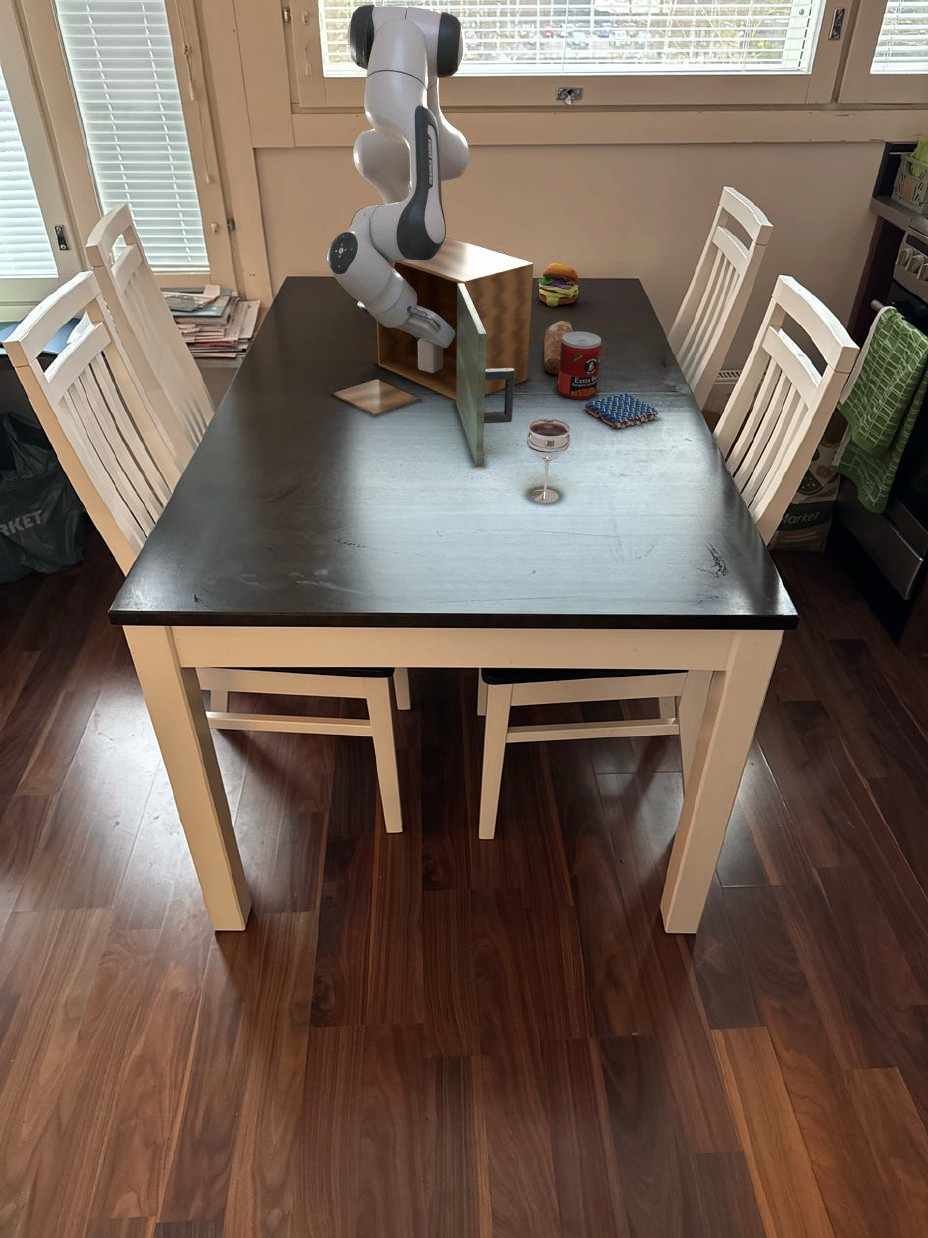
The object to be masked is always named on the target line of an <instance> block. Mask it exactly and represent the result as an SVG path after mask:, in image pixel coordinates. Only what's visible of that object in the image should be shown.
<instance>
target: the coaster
mask: <svg viewBox="0 0 928 1238" xmlns="http://www.w3.org/2000/svg"><path fill="white" fill-rule="evenodd" d="M333 396H334V397H336V398H338V399H340V400H342V401H343V402H346V403H348V404H350V405H352V406H354V407H356V408H358V409H360V410H362V411H364V412H366V413H368V414H369V415H372V416H374V417H375V416H378V415H381V414H383V413H387V412H390V411H393V410H395V409H398V408H402V407H404V406H407V405H410V404H412V403H415V402H418V401H420V399H419V398H420V397H417V396H414V395H412V394H410V393H408V392H405V391H404V390H401V389H399V388H397V387H395V386H393V385H391V384H388V383H387V382H384V381H382V380H380V379H378V378H376V379H373V380H370V381H366V382H364V383H360V384H357V385H354V386H350V387H348V388H345V389H342V390H339V391H336V392H333Z"/></svg>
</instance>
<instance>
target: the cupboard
mask: <svg viewBox="0 0 928 1238" xmlns="http://www.w3.org/2000/svg"><path fill="white" fill-rule="evenodd" d="M394 268H395V270H396V272H398V273H399V274H400V275H401V276H402V277H403V278H404V279H405V280H406V281H407V283H408V284H409V285H410V286H411V287H412V288H413V289H414V290H415V291H416V294H417V306H420V307H423V308H425V309H428V310H430V311H432V312H434V313H436V314H437V315H438V316H440V317H441V318H442V319H443V320H444V321H445V322H446V323H448V324H449V325H450V326H451V327H452V328H453V329H454V330H455V332H456V335H455V337H454V339H453V341H452V343H451V344H450V345H449V347H448V348H444V349H443V367H442V368H441V369H440V370H438V371H436V372H434V373H431V372H427V371H423V370H420V369H419V368H418V339H417V338H416V337H415V336H413V335H412V334H409V333H407V332H405V331H402V330H400V329H397V328H395V327H393V328H389V327H385V326H383V325H382V324H381V323H380V322H379V321H378V320H376V341H377V365H378V366H379V367H382V368H384V369H386V370H388V371H390V372H392V373H394V374H397V375H400V376H402V377H404V378H406V379H408V380H410V381H413V382H415V383H417V384H419V385H421V386H424V387H426V388H428V389H430V390H432V391H435V392H436V393H439V394H441V395H443V396H446V397H448V398H450V399H452V400H455V401H456V383H457V284H461V283H464V285H465V287H466V289H467V292H468V294H469V296H470V298H471V301H472V303H473V305H474V307H475V309H476V312H477V314H478V316H479V318H480V321H481V323H482V325H483V327H484V329H485V332H486V334H487V335H486V369H499V368H513V369H514V370H515V371H514V385H516V384H520V383H522V382H525V381H527V380H528V369H529V368H528V367H529V353H530V351H529V349H530V335H531V334H530V333H531V332H530V331H531V317H532V316H531V315H532V313H531V312H532V300H533V299H532V298H533V297H532V295H533V280H534V263H533V262H530V261H527V260H525V259H522V258H521V259H520V258H518V257H515V256H511V255H507V254H505V253H502V252H499V251H498V252H497V251H494V250H491V249H488V248H484V247H481V246H478V245H474V244H471V243H467V242H464V241H461V240H457V239H454V238H451V237H448V236H445V240H444V243H443V245H442V247H441V248H440V250H439V251H438V253H437V254H436V255H435V256H434V257H433V258H432V259H430V260H401V261H396V263H395V266H394ZM505 381H506V379H504V380H485V396H487V395H488V394H489V395H490V394H493V393H495V392H498V391H500V390H502V389H505Z"/></svg>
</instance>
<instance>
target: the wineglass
mask: <svg viewBox="0 0 928 1238" xmlns="http://www.w3.org/2000/svg"><path fill="white" fill-rule="evenodd" d="M527 428H528V433H527V437H526V444H527V446H528V449H529V451H530V452H531V454H532V455H534V456H535V457H536V458H538V459H541V460H542V461H543V462H544V467H543V468H544V470H543V471H544V473H543V488H540V489H539V488H538V489H535V490H532V491H531V493H530V498H531V499H533V500H534V501H536V502H539V503H543V504H545V503H547V504H548V503H552V502H556V501H557V500H559V494H558V492H556V491H554V490H552V489H548V488H547V486H548V478H549V472H550V471H549V470H550V462H552V461H554V460H557V459H559V458H560V457H562V456H563V455H565V454H566V453H567V451H568V450H569V447H570V445H571V435H570V433H571V431H572V427H571V425H570V424H569V423H567V422H566V421H563V420H560V419H555V418H539V419H535V420H533V421H531V422H530V423H529V424H528V426H527Z"/></svg>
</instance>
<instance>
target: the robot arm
mask: <svg viewBox="0 0 928 1238" xmlns="http://www.w3.org/2000/svg"><path fill="white" fill-rule="evenodd" d="M346 40H347V46H348V50H349V53H350V58H351V60H352V61H353V62H354V63H355V65H356V66H357V67H359V68H361V69H364V70H366V77H365V84H364V85H365V86H364V96H363V106H364V115H365V116H366V120H367V122H368V123H369V124H370V126H371V127H372V128H371V129H367V130H364V131H361V133H359V135H358V136H357V137H356V139H355V142H354V146H353V148H352V149H353V150H352V156H353V157H352V158H353V163H354V166H355V169H356V170H357V172H358V173H359V175H360V176H361V177H362V178H363V179H364V180H366V181H367V182H368V183H369V184H370V185H371V186H372V187H373V188H374V189H375V190H376V191H377V193H378V194H379V196H380V198H381V199H382V203H383V204H382V203H381V204H376V205H371V206H366V207H361V208H360V209H358V210H357V211H356V212H355V214H354V215H353V217H352V219H351V220H350V223H349V227H348V229H347V230H346V231H344V232H341V233H339V234H338V235H336V237H334V239H333V240H332V242H331V244H330V245H329V248H328V250H327V265H328V267H329V269H330V272H331V274H332V276H333V277H334V279H335V280H336V281H337V283H338V284H339V285H340V286H341V287H342V288H343V289H344V290H345V291H346V292H347V293H348V294H349V295H350V296H351V297H352V298H353V299H354V300H356V301H358V302H357V304H356V305H357V307H358V308H359V309H360V310H361V311H363V312H365V313H366V314H368V315H370V316H372V317H373V318H374V319H375V321H377V320H378V321H379V322H380V323H381V324H382V325H383V326H385V327H389V328H393V327H395V328H397V329H400V330H402V331H405V332H407V333H409V334H412V335H413V336H415V337H416V338H417V339H418V340H419V339H420V338H422V339H424V340H427V341H429V342H431V343H433V344H434V345H435V346H436V347H438V348H440V349H444V348H448V347H449V345H450V344H451V343H452V341H453V339H454V337H455V335H456V332H455V330H454V329H453V328H452V327H451V326H450V325H449V324H448V323H446V322H445V321H444V320H443V319H442V318H441V317H440V316H438V315H437V314H436V313H434V312H432V311H430V310H428V309H425V308H423V307H420V306H417V294H416V291H415V290H414V289H413V288H412V287H411V286H410V285H409V284H408V283H407V281H406V280H405V279H404V278H403V277H402V276H401V275H400V274H399V273H398V272H396V270H395V268H394V266H395V263H396V261H401V260H430V259H432V258H433V257H434V256H435V255H436V254H437V253H438V251H439V250H440V248H441V247H442V245H443V243H444V240H445V237H447V236H446V235H447V224H446V218H445V213H444V208H443V197H442V196H443V195H442V194H443V193H442V192H443V191H442V183H443V182H447V181H452V180H456V179H460V178H461V177H462V176H463V174H464V173H465V172H466V171H467V168H468V164H469V161H470V148H469V144H468V141H467V140H466V138H465V136H464V135H463V133H461V132H460V131H459V130H457V128H455V127H454V126H452V125H451V124H450V123H449V122H448V121H447V120H446V119H445V117H444V115H443V112H442V111H441V108H440V99H439V79H442V78H450V77H453V76H454V75H455V74H456V73H457V72H458V71H459V68H460V66H461V64H462V62H463V59H464V56H465V52H466V37H465V32H464V30H463V24H462V23H461V21H460V20H459V18H458V17H457V16H456V15H454V14H450V13H448V12H445V11H442V12H437V11H435V10H430V9H426V8H421V7H416V6H408V7H406V6H393V5H388V6H387V5H386V6H385V5H383V6H375V4H365V5H360V6H358V7H357V8H356V9H355V10H354V11H353V12H352V15H351V17H350V20H349V24H348V27H347V39H346ZM409 184H410V188H409Z"/></svg>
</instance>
